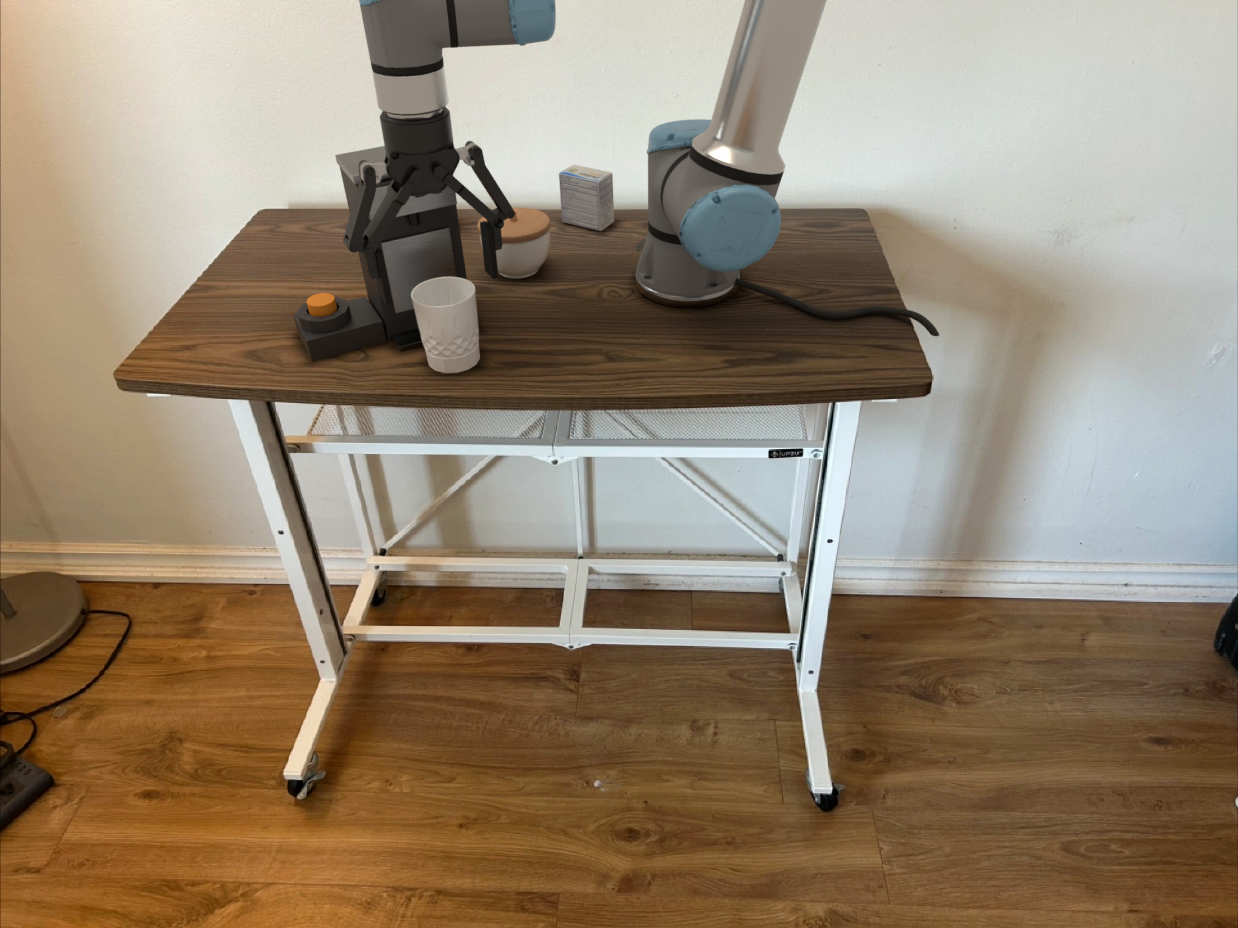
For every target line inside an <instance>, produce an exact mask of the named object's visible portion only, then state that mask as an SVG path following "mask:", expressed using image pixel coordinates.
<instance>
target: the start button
mask: <svg viewBox="0 0 1238 928" xmlns="http://www.w3.org/2000/svg"><path fill="white" fill-rule="evenodd" d="M335 297H336V296H335V295H334V294H332V293H328V292H320V293H316V294H313V295H311V296H309V297H308V298H307V300H306V302H307V306H308V310H309V313H310V315H312V316H327V315H331V314H332V313H334V312H336V311H337V305H336V300H335Z"/></svg>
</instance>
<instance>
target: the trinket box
mask: <svg viewBox="0 0 1238 928" xmlns="http://www.w3.org/2000/svg"><path fill="white" fill-rule="evenodd" d="M512 208H513V210H514V212H515V215H514V217H513V218H511V219H506V220H504V221H503V222H504V226H503V228H501V235H502V249H501V250H496V256H497V266H498V274H500V275H501V276H502V277H504V278H508V279H524V278H528V277H531V276H533V275H535V274H536V273H537V272H538V271H539V269H540V268H541V267H542V265H543V264H544V263H545V261H546V260H547V258H548V255H549V253H550V247H551V219H550V217H549V216H548V214H547V213H545V212H543V211H541V210H539V209H535V208H531V207H521V206H519V207H518V206H517V207H512ZM483 221H486V222H487V220H486V219H485V218H484V217H483V216H482V217H480V218H479V220H478V221H477V232H478V234H479V241H480V246H481V250H482V251H483V248H482V239H481V230H480V222H483Z"/></svg>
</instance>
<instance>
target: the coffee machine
mask: <svg viewBox="0 0 1238 928" xmlns="http://www.w3.org/2000/svg"><path fill="white" fill-rule="evenodd" d="M334 157H335V161H336V164H337V165H338V166H339V170H340V175H341V180H342V184H343V190H344V192H345V197H346V202H347V207H348V211H349V214H350V213H351V209H352V206H353V202H354V199H355V195H356V192H357V188H358V184H359V168H358V165H359V162H360V161H361V160H366V161H368V162H369V163H379V162H384V160H385V157H386V151H385V145H381V146H376V147H371V148H366V149H361V150H354V151H349V152H345V153H339V154H335V155H334ZM392 180H393V179H392V178H391V177H390V176H389V175H388V174H384V175H383V176H382V178H381V182H380V183H378V184H376V192H375V196H374V200H373V203H372V207H371V210H370V213H369V217H368V220H367V224H366V227H365V230H366V229H367V227H368V225H369V223H370V222H371V220H372V218H373V217H374V215H375V213H376V211H377V210H378V208H379V206H380V204H381V203H382V201H383V199H384V198H385V196H386V194H387V189H388V187H389V185H390V183H391V182H392ZM460 228H461V227H460V221H459V213H458V200H457V193H456V192H454V191H453V190H452V189H451V188H450V187H449V186H447V187H446V188H445V189H444V190H443V191H442V193H439V194H427V195H425V196H423V197H418V198H416V197H415V196H410V197H409V199H408V201H407V202H406V204H405V205H403V206H402V207H401V209H400V210H399V212H398V214H397V216H396V217H395V219H394V221H393V222H392V224H391V226H390V228H389V229H388V231H387V233H386V234H385V236H384V238H383V239H382V241H381V243H380V245H379V246H378V247H379V248H380V250H381V251H382V252H383V254H384V260H385V265H386V270H387V276H388V281H389V287H390V292H391V297H392V303H393V304H390V305H386V304H385V302H384V301H383V300H382V298H381V297H380V293H379V288H378V283H377V278H375V279H372V278H371V277H370V276H369V274H368V273H367V271H366V267H365V262H364V257H363V253H362V252H357V253H358V258H359V262H360V266H361V272H362V276H363V280H364V284H365V290H366V294H367V299H368V301H369V302H370V304H371V305H372V307H373V308H374V310H375V311H376V313H377V314H378V316H379V317H380V319H381V320H382V322H383V327H384V332H385V336H386V340H387V342H393V344H394V345H395V346H396V347H397V349H398V350H399V352H400V353H402V352H405V351H408V350H413V349H417V348H420V347H424V346H423V342H422V339H421V336H420V331H419V328H418V324H417V319H416V315H415V311H414V307H413V302H412V298H411V292H412V290H413V289H414V288H415V287H416V286H417V285H418V284H420V283H422V282H424V281H427V280H430V279H433V278H438V277H459V278H463V279H466V280H468V279H467V271H466V263H465V258H464V249H463V242H462V234H461V229H460ZM364 232H365V231H364Z"/></svg>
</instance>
